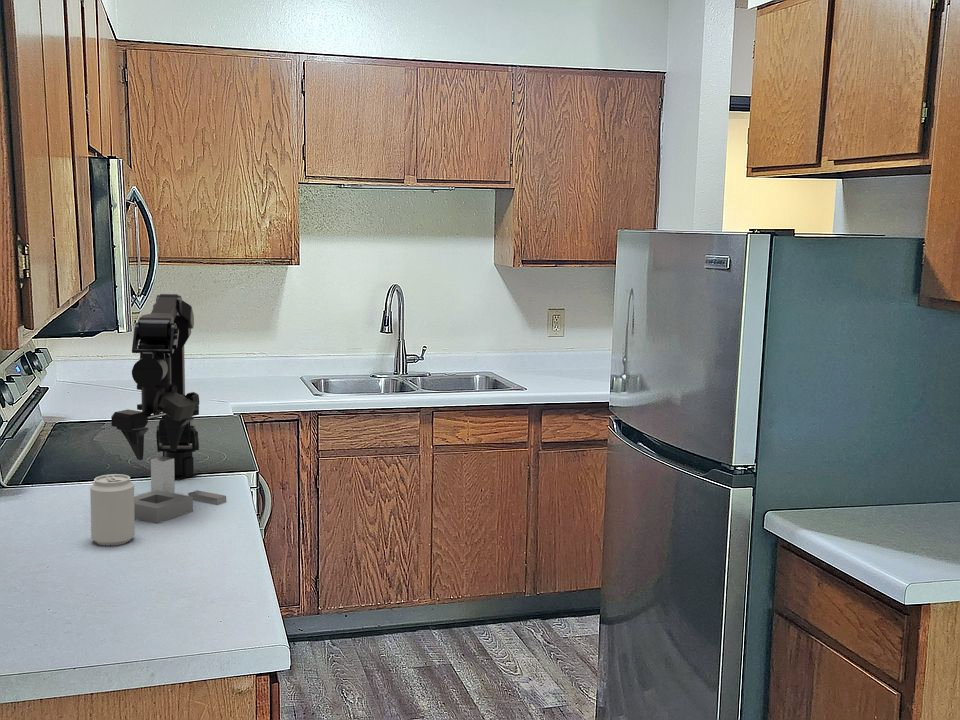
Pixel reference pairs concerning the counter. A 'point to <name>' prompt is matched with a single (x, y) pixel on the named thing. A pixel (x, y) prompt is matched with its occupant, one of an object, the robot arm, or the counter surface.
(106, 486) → the can
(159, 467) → the square bit
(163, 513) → the bore block
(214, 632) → the counter surface
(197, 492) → the flat bit
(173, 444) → the robot arm
